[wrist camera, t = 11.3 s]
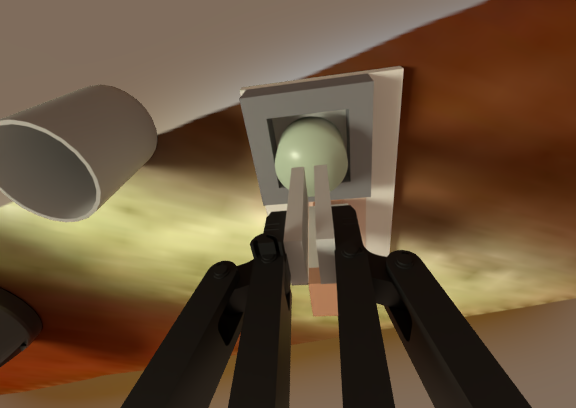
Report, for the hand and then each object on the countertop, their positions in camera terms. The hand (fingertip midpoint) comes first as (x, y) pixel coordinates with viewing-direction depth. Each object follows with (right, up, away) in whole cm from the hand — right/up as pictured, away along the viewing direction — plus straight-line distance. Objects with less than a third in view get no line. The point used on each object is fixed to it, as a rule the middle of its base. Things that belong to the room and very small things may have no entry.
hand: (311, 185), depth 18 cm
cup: (-18, +6, +8) cm, 20 cm away
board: (+2, 0, +10) cm, 11 cm away
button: (0, +3, +5) cm, 6 cm away
